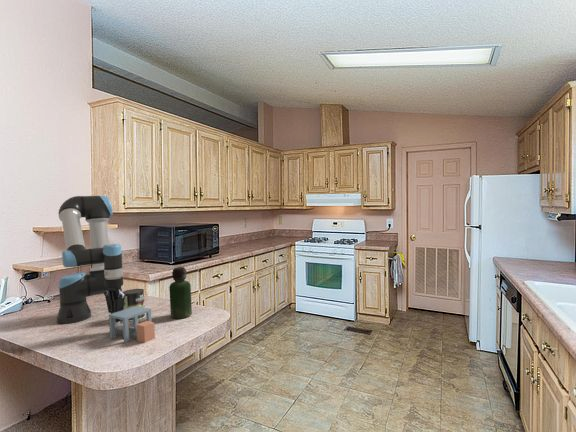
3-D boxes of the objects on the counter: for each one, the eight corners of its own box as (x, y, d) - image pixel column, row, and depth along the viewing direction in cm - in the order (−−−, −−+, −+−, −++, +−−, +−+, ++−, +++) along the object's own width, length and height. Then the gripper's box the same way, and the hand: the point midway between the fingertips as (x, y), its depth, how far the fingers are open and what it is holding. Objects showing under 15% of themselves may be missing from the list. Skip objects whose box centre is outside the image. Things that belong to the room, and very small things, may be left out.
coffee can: (149, 315, 172) (148, 288, 171) (136, 322, 162) (135, 294, 161) (132, 314, 174) (131, 288, 173) (118, 321, 164) (117, 293, 163)
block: (137, 340, 138) (136, 324, 138) (147, 336, 143) (146, 320, 142) (145, 342, 136) (144, 326, 136) (155, 338, 140) (154, 322, 140)
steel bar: (113, 334, 148) (112, 327, 148) (120, 331, 151) (119, 325, 151) (139, 341, 139) (138, 334, 139) (146, 337, 142) (145, 331, 142)
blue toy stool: (110, 338, 142) (108, 314, 142) (136, 327, 153) (135, 306, 153) (126, 342, 137) (124, 318, 136) (152, 331, 148) (150, 308, 148)
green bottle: (169, 320, 162) (166, 270, 162) (172, 313, 173) (170, 267, 172) (191, 318, 165) (188, 269, 164) (192, 311, 175) (190, 265, 174)
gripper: (97, 278, 149) (100, 329, 150) (114, 280, 143) (117, 333, 144) (112, 275, 156) (115, 323, 156) (130, 277, 149) (133, 327, 150)
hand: (116, 328), depth 150 cm, fingers closed
